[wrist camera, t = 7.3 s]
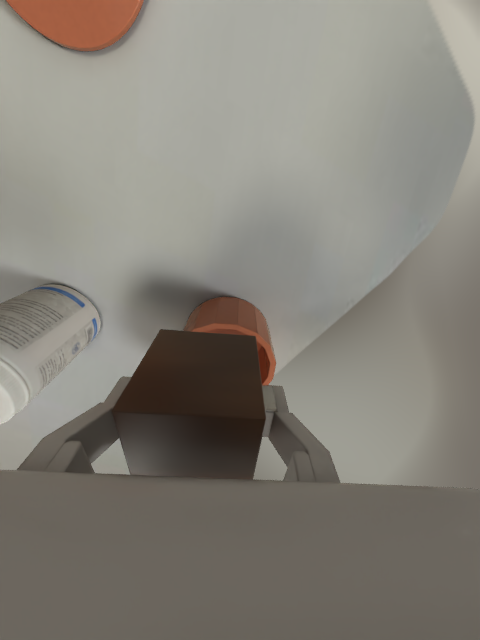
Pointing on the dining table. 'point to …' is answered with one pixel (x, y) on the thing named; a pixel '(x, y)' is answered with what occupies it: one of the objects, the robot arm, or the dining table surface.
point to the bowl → (236, 327)
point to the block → (193, 407)
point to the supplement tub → (40, 341)
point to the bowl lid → (79, 20)
